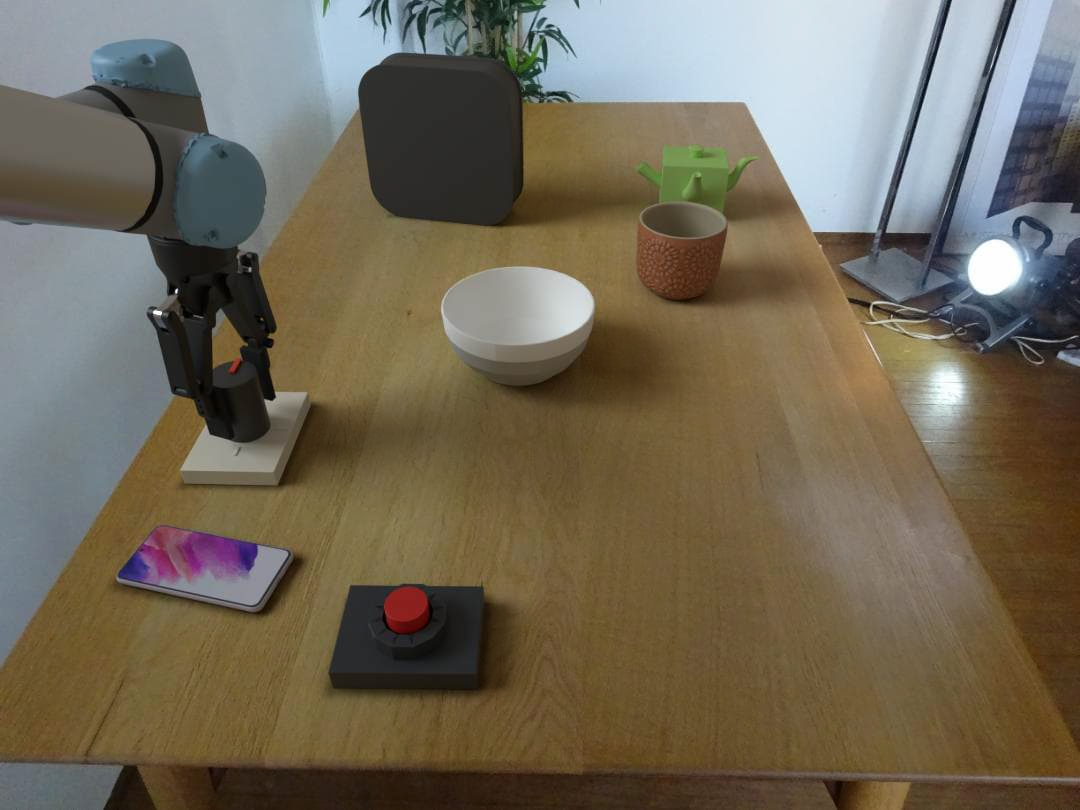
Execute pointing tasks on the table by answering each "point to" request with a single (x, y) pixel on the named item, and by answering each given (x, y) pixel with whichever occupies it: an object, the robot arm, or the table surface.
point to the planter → (680, 248)
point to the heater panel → (250, 448)
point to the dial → (243, 399)
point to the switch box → (410, 641)
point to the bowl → (518, 323)
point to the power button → (407, 610)
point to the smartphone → (206, 567)
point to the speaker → (443, 136)
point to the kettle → (695, 175)
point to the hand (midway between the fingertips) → (243, 415)
